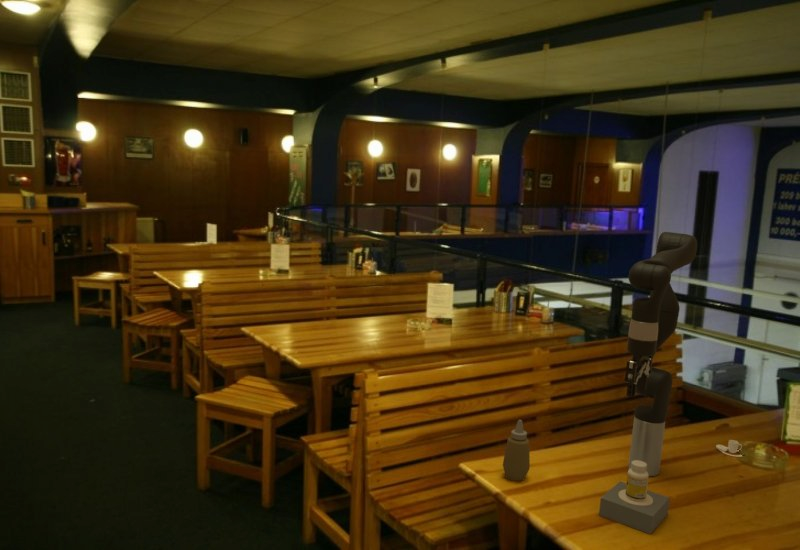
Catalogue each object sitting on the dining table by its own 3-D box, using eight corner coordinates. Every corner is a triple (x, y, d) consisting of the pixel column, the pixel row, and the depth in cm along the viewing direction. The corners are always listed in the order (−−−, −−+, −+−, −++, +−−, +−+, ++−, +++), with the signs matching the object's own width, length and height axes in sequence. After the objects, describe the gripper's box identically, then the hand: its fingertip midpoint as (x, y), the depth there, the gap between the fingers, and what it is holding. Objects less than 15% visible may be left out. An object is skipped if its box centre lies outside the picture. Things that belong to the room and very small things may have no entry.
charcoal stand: (618, 497, 198) (620, 480, 197) (667, 514, 189) (669, 496, 188) (598, 515, 187) (600, 497, 186) (650, 534, 178) (652, 515, 178)
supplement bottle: (629, 490, 191) (633, 457, 189) (648, 497, 187) (653, 463, 186) (621, 496, 187) (625, 463, 185) (641, 504, 183) (645, 469, 182)
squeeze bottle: (496, 472, 209) (501, 416, 206) (520, 470, 212) (524, 414, 209) (510, 484, 202) (515, 426, 199) (533, 481, 205) (539, 424, 202)
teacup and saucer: (712, 450, 237) (714, 439, 236) (722, 445, 242) (724, 434, 241) (739, 459, 230) (740, 448, 230) (748, 454, 236) (750, 443, 235)
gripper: (647, 343, 180) (640, 402, 183) (665, 334, 191) (658, 390, 194) (619, 337, 185) (613, 395, 187) (638, 329, 196) (632, 384, 198)
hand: (636, 393), depth 191 cm, fingers open, 8 cm apart
